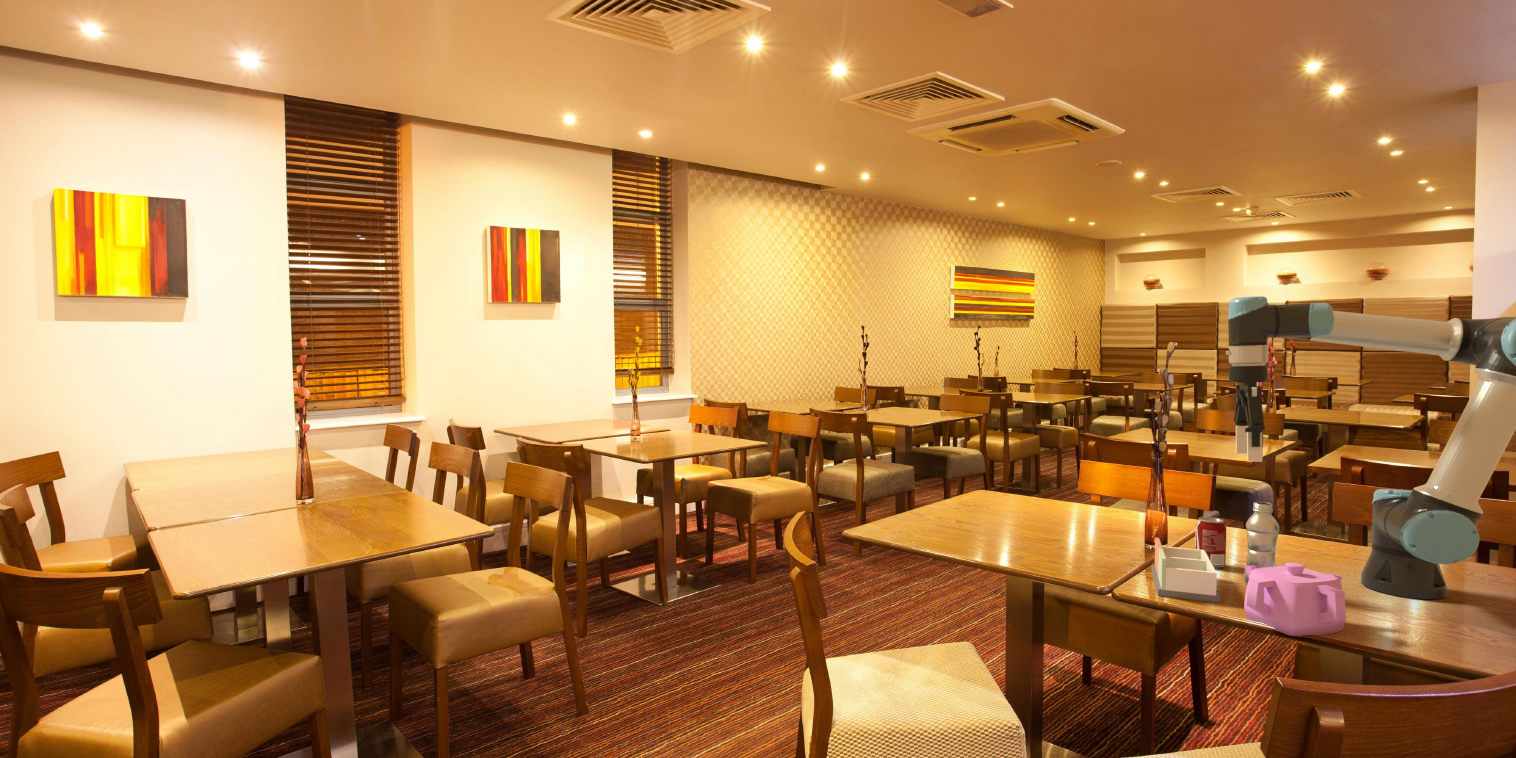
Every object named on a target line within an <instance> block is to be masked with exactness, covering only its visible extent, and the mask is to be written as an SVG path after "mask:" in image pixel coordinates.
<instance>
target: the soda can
mask: <svg viewBox="0 0 1516 758" xmlns="http://www.w3.org/2000/svg"><path fill="white" fill-rule="evenodd" d="M1224 522H1225V521H1224V520H1223V519H1222V518H1218V517H1212V516H1200V517H1198V521H1197V522H1196V523H1195V533H1194V534H1195V539H1194V541H1195V543H1194V549H1198V550H1204V551H1205V553H1206V554H1207V556H1208V558H1209V560H1210V562H1211V564H1212V565H1213V567H1214V569H1215V570H1217V569H1221V568H1224V567H1225V566H1226V564H1227V563H1226V560H1227V557H1226V555H1227V526H1226V525H1225V523H1224Z"/></svg>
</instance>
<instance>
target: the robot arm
mask: <svg viewBox="0 0 1516 758" xmlns="http://www.w3.org/2000/svg"><path fill="white" fill-rule="evenodd" d="M1227 326H1228V350H1226V351H1225V355H1227V356H1228V363H1229V364H1231V365H1229V367H1228V381H1229V382H1230V383H1239V384H1236V385H1235V390H1236V394H1235V403H1234V404H1235V405H1234V414H1233V415H1234V416H1233V421H1234V424H1235V454H1243V455H1244V454H1246V455H1247V456H1246V457H1247V459H1246V460H1247V463H1248V462H1250V463H1251V462H1255V463H1263V431H1265V429H1266V427H1265V421H1264V411H1263V402H1262V388H1261V386H1260V387H1259V386H1258V383H1266V382H1267V381H1269V371H1268V370H1269V369H1268V366H1267V365H1266V364H1267V363H1268V362H1269V346H1268V344H1269V343H1268V339H1276V338H1277V339H1292V340H1302V341H1310V342H1312V341H1313V342H1321V343H1328V344H1329V343H1330V344H1338V345H1339V344H1340V345H1347V346H1354V347H1363V348H1364V347H1365V348H1374V349H1382V350H1388V351H1389V350H1390V351H1391V350H1392V351H1400V352H1406V353H1407V352H1408V353H1417V354H1425V355H1434V356H1439V357H1440V358H1441V359H1442V361H1446V362H1455V363H1462V364H1467V365H1471V366H1475V367H1474V369H1473V371H1474V373H1475V375H1476V376H1477V377H1478V382H1477V384H1476V386H1475V388H1474V390H1473V392H1472V394H1471V396H1470V398H1469V400H1468V401H1467V404H1466V406H1465V408H1464V409H1463V411H1462V413H1461V415H1460V417H1459V420H1458V421H1457V423H1456V425H1455V427H1454V429H1453V431H1452V432H1451V435H1450V436H1449V438H1448V441H1447V443H1446V445H1445V446H1444V448H1443V451H1441V452H1442V453H1441V454H1440V457H1439V458H1438V460H1437V462H1436V465H1435V466H1434V467H1433V470H1432V472H1431V474H1430V476H1429V478H1428V480H1427V482H1426V483H1425V484H1423V485H1419V486H1415V487H1413V489H1411V490H1409V489H1396V488H1395V489H1392V488H1391V489H1390V488H1379V489H1376V490H1375V491H1374V492H1373V500H1372V501H1371V504H1372V521H1371V522H1372V523H1371V525H1372V526H1371V551H1370V554H1369V556H1368V558H1367V560H1366V562H1365V564H1364V566H1363V569H1362V570H1361V573H1360V583H1361V584H1362V585H1363V586H1364V587H1366V588H1369V589H1371V590H1374V591H1376V592H1380V593H1383V594H1388V595H1392V596H1393V595H1394V596H1398V597H1402V598H1410V599H1420V600H1440V599H1444V598H1447V596H1448V585H1447V582H1446V580H1445V577H1444V573H1443V571H1442V569H1441V566H1440V565H1451V564H1456V563H1460V562H1463V561H1466V560H1467V559H1469V557H1472V555H1474V553H1475V552H1476V551H1477V549H1478V547H1479V544H1480V534H1479V530H1478V528H1477V526H1478V523H1479V522H1480V520H1481V518H1482V517H1483V514H1484V511H1483V510H1482V508H1481V505H1480V503H1479V500H1480V499H1481V496H1482V494H1483V492H1484V490H1485V488H1486V487H1487V485H1488V482H1489V481H1490V479H1491V477H1492V475H1493V474H1494V471H1496V470H1495V469H1496V468H1497V466H1498V463H1500V460H1501V458H1502V456H1503V454H1504V452H1505V451H1506V449H1507V447H1508V445H1509V443H1510V441H1511V440H1512V438H1513V436H1514V434H1515V432H1516V316H1502V317H1493V318H1475V319H1474V318H1471V319H1470V318H1459V317H1458V318H1457V317H1454V318H1451V319H1449V320H1448V321H1441V320H1431V319H1420V318H1412V317H1400V316H1393V315H1380V314H1369V313H1360V312H1350V311H1349V312H1348V311H1341V310H1340V311H1339V310H1333V307H1332V305H1331V304H1329V303H1327V302H1308V303H1307V302H1304V303H1303V302H1302V303H1286V304H1269V302H1268V299H1267V297H1266V296H1263V295H1262V296H1241V297H1236V298H1235V297H1234V298H1232V299H1230V301H1229V303H1228V316H1227Z"/></svg>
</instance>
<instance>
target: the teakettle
mask: <svg viewBox="0 0 1516 758" xmlns="http://www.w3.org/2000/svg"><path fill="white" fill-rule="evenodd" d="M1243 566H1244V571H1245V570H1246V573H1247V575H1248V578H1249V581H1248V585H1246V589H1245V595H1244V603H1243V605H1244V607H1243V608H1244V613H1245V616H1246V618H1247V619H1248V618H1249V619H1248V620H1250V619H1252V620H1254V621H1257V622H1262V623H1264V624H1267V625H1269V626H1271V627H1273V628H1275V629H1276V630H1275V631H1276V632H1278V633H1282V634H1284V635H1287V636H1290V637H1304V636H1303V635H1314V636H1322V635H1323V636H1325V635H1329V633H1330V634H1334V633H1338V632H1339V631H1340V632H1341V630H1342V631H1343V630H1344V627H1345V624H1346V620H1347V614H1346V612H1347V611H1346V599H1345V598H1346V597H1345V591H1344V590H1343V588H1342V584H1341V582H1342V578H1343V577H1342V575H1341V576H1340V575H1339V574H1333V573H1328V574H1325V573H1323V572H1319V571H1316V570H1312V569H1310V568H1306V566H1305V565H1304V564H1301V563H1298V562H1286V563H1285V565H1279V566H1278V565H1277V566H1274V567H1264V568H1257V566H1250V565H1249V566H1246V565H1243ZM1252 620H1251V621H1252ZM1254 621H1253V622H1254Z"/></svg>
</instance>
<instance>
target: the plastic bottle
mask: <svg viewBox="0 0 1516 758" xmlns="http://www.w3.org/2000/svg"><path fill="white" fill-rule="evenodd" d="M1252 511H1253V513H1252V514H1251V515H1250V516H1249V518H1247V519H1248V520H1247V521H1246V523H1245V529H1246V530H1245V531H1246V532H1245V533H1246V538H1247V558H1246V565H1245V566H1249V565H1250V566H1257V568H1264V567H1274V566H1276V565H1277V564H1276V551H1277V550H1276V549H1277V543H1278V540H1279V539H1278V537H1279V532H1280V526H1279V523H1278V522H1277V520H1276V519H1275V517H1274V515H1272V514H1273V511H1274V510H1273V504H1272V503H1271V502H1266V501H1265V502H1264V501H1254V502H1253V508H1252ZM1243 580H1244V583H1245V585H1246V586H1247V585H1248V581H1249V578H1248V575H1247V573H1246V570H1245V569H1244V573H1243Z"/></svg>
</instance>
